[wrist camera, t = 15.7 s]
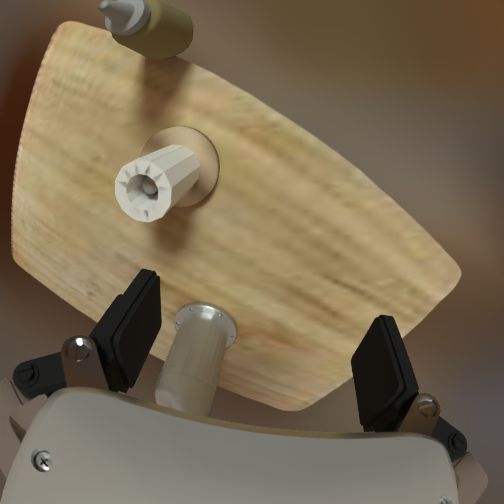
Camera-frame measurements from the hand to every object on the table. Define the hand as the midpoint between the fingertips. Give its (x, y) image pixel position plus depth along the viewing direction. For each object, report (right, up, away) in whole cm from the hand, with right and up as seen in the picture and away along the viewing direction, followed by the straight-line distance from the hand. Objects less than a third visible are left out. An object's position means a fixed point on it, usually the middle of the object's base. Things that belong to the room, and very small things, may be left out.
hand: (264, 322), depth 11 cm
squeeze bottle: (-11, +33, +18) cm, 39 cm away
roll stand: (-11, +15, +28) cm, 33 cm away
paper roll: (-11, +15, +26) cm, 32 cm away
